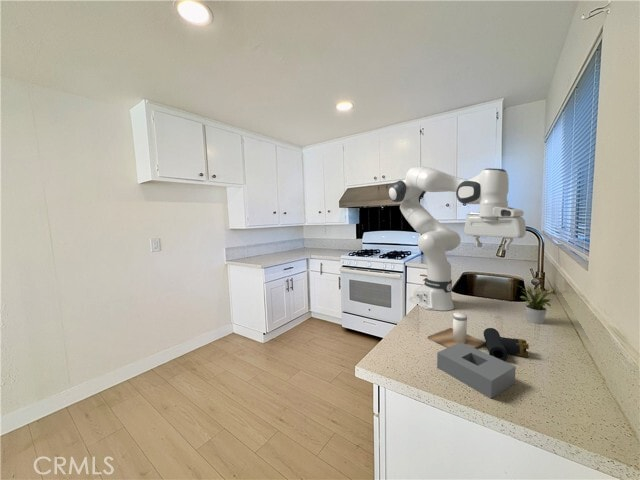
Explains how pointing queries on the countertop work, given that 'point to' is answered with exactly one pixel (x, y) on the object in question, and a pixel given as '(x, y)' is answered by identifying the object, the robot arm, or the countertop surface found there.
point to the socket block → (476, 369)
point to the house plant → (536, 306)
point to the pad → (447, 339)
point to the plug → (459, 327)
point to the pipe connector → (504, 345)
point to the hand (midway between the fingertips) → (491, 248)
